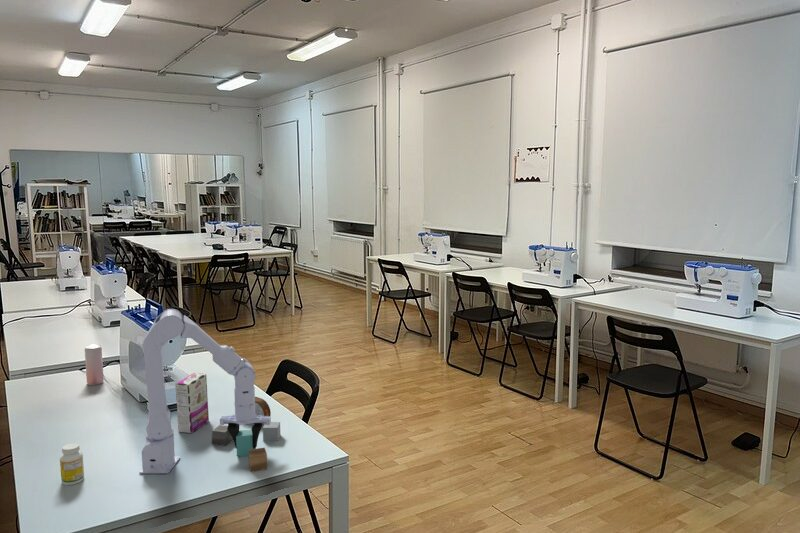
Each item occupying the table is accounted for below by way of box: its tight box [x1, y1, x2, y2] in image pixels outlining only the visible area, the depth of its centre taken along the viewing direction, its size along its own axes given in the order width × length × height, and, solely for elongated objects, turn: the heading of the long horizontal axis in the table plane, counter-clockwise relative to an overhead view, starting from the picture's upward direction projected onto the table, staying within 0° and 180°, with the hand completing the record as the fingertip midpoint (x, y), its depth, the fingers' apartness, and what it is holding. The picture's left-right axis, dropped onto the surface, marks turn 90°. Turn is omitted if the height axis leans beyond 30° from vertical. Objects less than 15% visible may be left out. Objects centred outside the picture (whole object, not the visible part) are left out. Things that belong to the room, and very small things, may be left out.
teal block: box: [236, 429, 257, 457], centre depth 175 cm, size 4×4×6 cm
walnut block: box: [248, 447, 268, 473], centre depth 166 cm, size 4×4×4 cm
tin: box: [255, 396, 272, 416], centre depth 198 cm, size 15×3×8 cm, turn 57°
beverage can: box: [84, 344, 105, 386], centre depth 234 cm, size 6×6×15 cm
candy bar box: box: [175, 372, 210, 434], centre depth 193 cm, size 11×5×16 cm, turn 168°
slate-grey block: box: [262, 421, 281, 442], centre depth 185 cm, size 4×4×4 cm
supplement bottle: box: [59, 442, 85, 486], centre depth 157 cm, size 5×5×10 cm
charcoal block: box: [211, 424, 234, 447], centre depth 182 cm, size 4×4×4 cm
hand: (246, 447), depth 175 cm, fingers closed on teal block, 4 cm apart
